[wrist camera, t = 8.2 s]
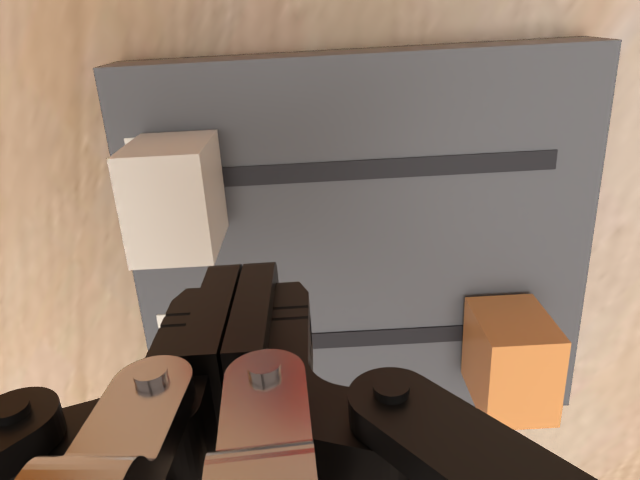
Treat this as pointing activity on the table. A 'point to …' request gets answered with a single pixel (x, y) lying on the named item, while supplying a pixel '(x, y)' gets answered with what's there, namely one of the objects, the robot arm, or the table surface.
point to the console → (391, 183)
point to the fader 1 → (170, 199)
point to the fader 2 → (514, 360)
